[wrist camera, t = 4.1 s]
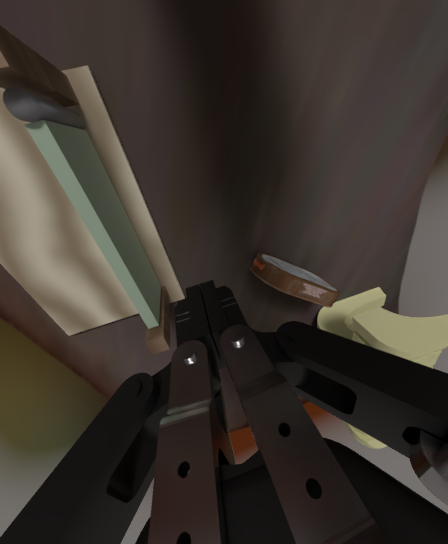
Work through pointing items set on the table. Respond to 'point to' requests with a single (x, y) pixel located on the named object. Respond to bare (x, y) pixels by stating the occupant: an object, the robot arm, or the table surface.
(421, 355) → the pale yellow c-shaped piece
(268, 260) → the tin
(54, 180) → the gate frame
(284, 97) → the table surface
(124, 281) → the gate
